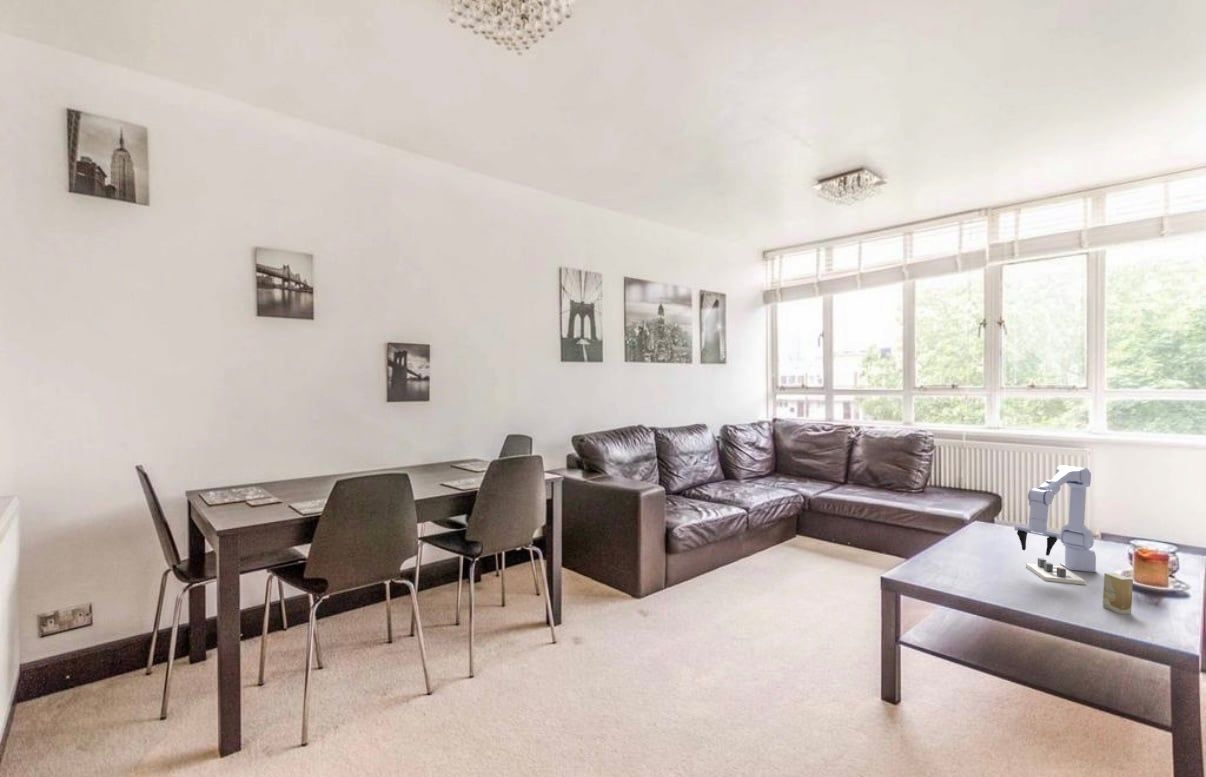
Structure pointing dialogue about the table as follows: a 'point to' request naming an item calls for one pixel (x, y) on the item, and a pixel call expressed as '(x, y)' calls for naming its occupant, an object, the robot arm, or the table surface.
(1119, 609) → the skincare box
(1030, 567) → the breaker panel
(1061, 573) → the breaker
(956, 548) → the table surface
